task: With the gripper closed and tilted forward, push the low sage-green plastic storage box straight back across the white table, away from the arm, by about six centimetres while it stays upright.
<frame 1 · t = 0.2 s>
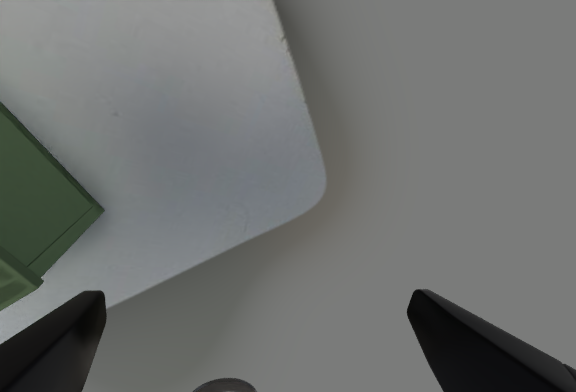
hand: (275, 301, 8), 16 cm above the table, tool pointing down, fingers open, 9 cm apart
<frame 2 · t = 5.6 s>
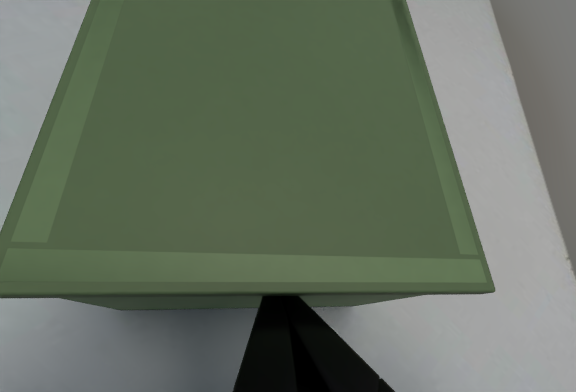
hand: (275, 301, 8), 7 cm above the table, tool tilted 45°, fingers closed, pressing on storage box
storage box: (250, 172, 18), on the table, touching gripper
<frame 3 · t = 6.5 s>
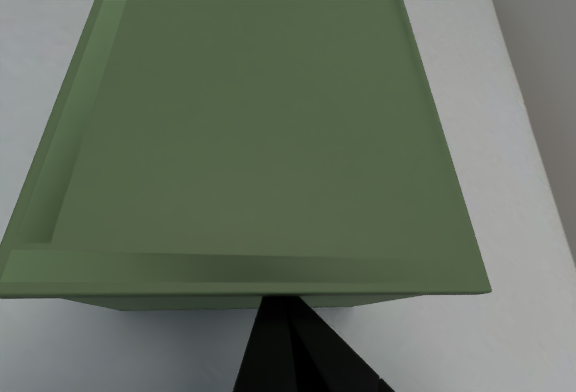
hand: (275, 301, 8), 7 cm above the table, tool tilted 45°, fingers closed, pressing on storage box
storage box: (250, 173, 18), on the table, touching gripper
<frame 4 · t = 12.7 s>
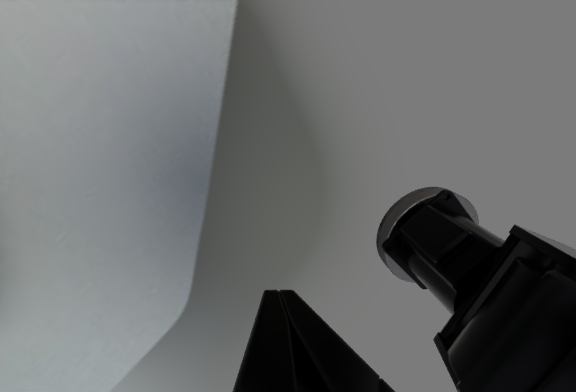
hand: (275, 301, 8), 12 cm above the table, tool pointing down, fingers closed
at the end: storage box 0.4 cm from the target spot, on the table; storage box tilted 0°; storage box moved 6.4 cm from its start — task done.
